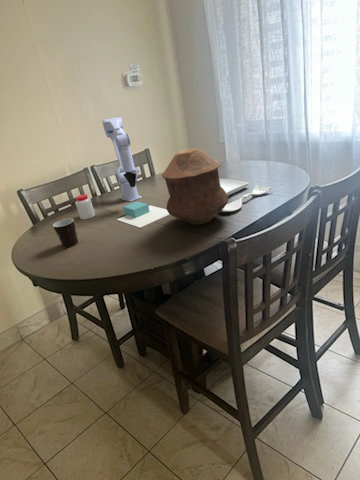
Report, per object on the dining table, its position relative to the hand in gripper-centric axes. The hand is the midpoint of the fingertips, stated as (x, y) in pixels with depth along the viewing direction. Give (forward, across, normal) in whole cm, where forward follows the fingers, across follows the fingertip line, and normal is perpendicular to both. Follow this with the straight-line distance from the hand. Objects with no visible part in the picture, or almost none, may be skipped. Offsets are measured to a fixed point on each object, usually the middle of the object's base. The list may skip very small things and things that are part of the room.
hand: (133, 186), depth 175 cm
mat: (+10, +17, -7) cm, 21 cm away
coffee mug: (+11, +13, -44) cm, 47 cm away
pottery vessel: (+11, +46, +1) cm, 47 cm away
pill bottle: (+11, -14, -22) cm, 28 cm away
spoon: (+11, +49, +26) cm, 57 cm away
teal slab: (+8, +5, -7) cm, 12 cm away
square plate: (+11, +25, +30) cm, 41 cm away
